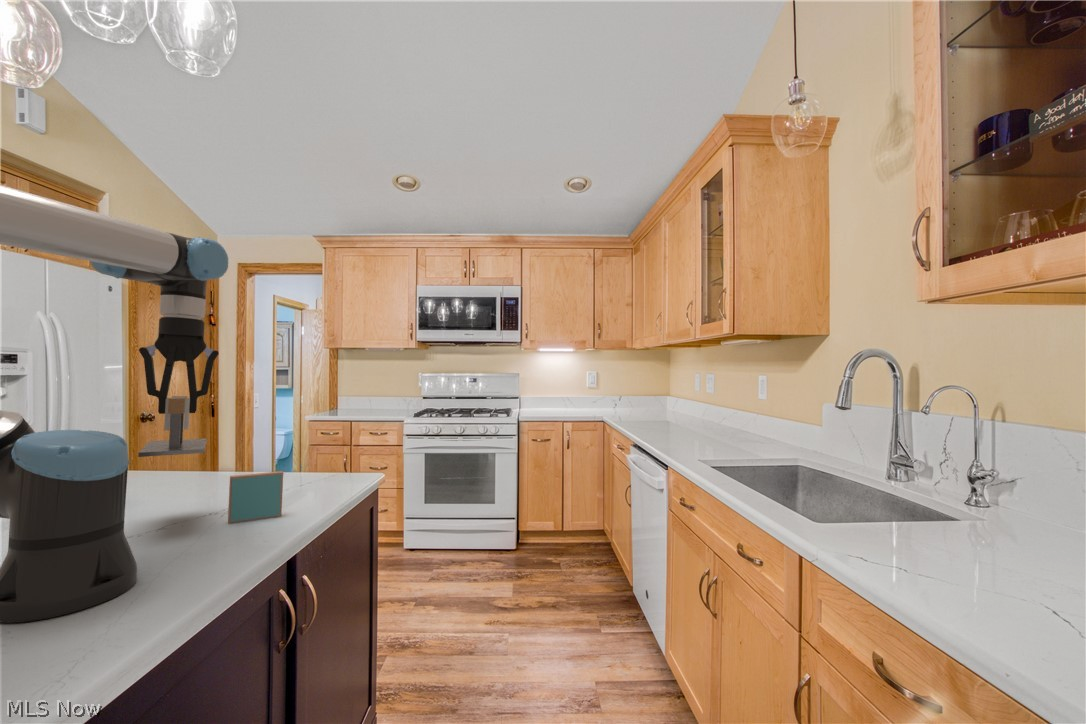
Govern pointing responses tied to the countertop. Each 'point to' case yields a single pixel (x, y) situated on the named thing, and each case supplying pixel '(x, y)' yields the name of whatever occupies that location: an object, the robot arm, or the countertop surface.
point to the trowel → (174, 435)
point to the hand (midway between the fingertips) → (176, 428)
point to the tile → (255, 496)
